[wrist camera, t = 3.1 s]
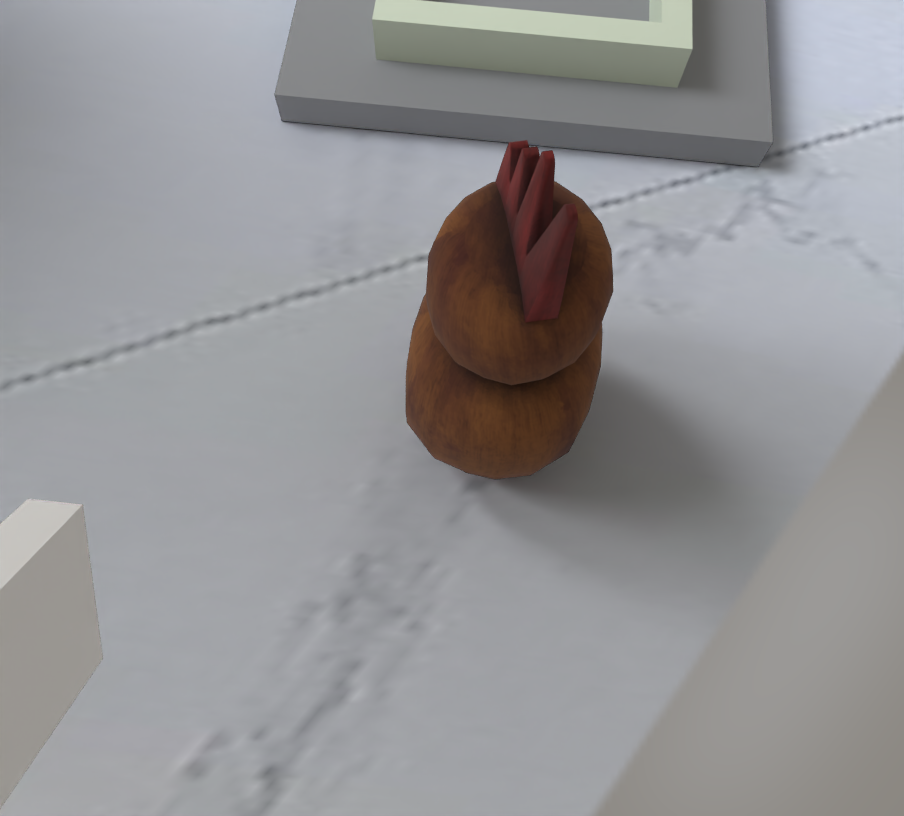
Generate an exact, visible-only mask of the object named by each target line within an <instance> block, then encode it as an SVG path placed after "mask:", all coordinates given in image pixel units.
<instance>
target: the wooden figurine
mask: <svg viewBox="0 0 904 816" xmlns="http://www.w3.org/2000/svg"><path fill="white" fill-rule="evenodd" d="M554 172H555V158H554V154H553V151H552V150H551V151H543V152H542V153H541V155H539V150H538V147H529V145H528V141H527V140H523V141H516V142H509V144H508V147H507V150H506V152H505V155H504V158H503V161H502V164H501V167H500V170H499V173H498V176H497V179H496V182H492V183H490V184H488V185H486V186H484V187H482V188H481V189H479V190H477V191H475V192H474V193H472V194H470V195H468V196H467V197H465V198H464V199H463V200H462V201H461V202H460V203H459V205H458V206H457V207H456V208H455V209H454V210H453V211H452V212H451V213H450V214H449V215H448V216H447V217H446V219H445V221H444V223H443V225H442V227H441V229H440V231H439V233H438V235H437V237H436V239H435V241H434V243H433V246H432V248H431V250H430V253H429V256H428V272H427V287H426V294H425V296H424V297H423V300H422V303H421V306H420V309H419V312H418V315H417V318H416V321H415V323H414V326H413V330H412V336H411V342H410V348H409V354H408V360H407V370H406V417H407V423H408V424H409V426H410V427H411V428H412V430H413V431H414V432H415V434H416V435H417V436H418V438H419V439H420V440H421V442H422V443H423V444H424V446H425V447H426V448H427V450H428V451H429V452H430V454H431V455H432V456H433V457H434V458H435V459H437V460H440V461H442V462H444V463H446V464H449V465H451V466H453V467H455V468H458V469H460V470H462V471H464V472H466V473H470V474H474V475H479V476H483V477H487V478H492V479H501V478H510V477H519V476H528V475H532V474H534V473H535V472H537V471H539V470H540V469H542V468H543V467H545V466H547V465H548V464H550V463H551V462H553V461H555V460H556V459H558V458H560V457H561V456H563V455H564V454H566V453H568V452H569V450H570V448H571V446H572V445H573V443H574V441H575V439H576V437H577V435H578V432H579V430H580V428H581V426H582V424H583V422H584V420H585V418H586V416H587V414H588V412H589V409H590V405H591V402H592V398H593V394H594V390H595V386H596V382H597V378H598V374H599V370H600V367H601V350H602V320H603V318H604V315H605V312H606V309H607V307H608V304H609V301H610V298H611V296H612V293H613V270H612V253H611V248H610V245H609V242H608V239H607V237H606V234H605V231H604V229H603V226H602V223H601V222H600V221H599V220H598V218H597V217H596V216H595V215H594V213H593V212H592V211H591V210H590V208H589V207H588V206H587V205H586V203H585V202H584V201H583V200H582V199H581V198H579V197H578V196H576V195H575V194H573V193H572V192H570V191H569V190H567V189H566V188H564V187H563V186H561V185H560V184H559V183H557V182H555V181H554Z"/></svg>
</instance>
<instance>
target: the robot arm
mask: <svg viewBox="0 0 904 816" xmlns="http://www.w3.org/2000/svg"><path fill="white" fill-rule="evenodd" d="M102 659H103V655H102V648H101V640H100V633H99V625H98V617H97V610H96V602H95V595H94V587H93V579H92V572H91V564H90V556H89V549H88V541H87V534H86V526H85V518H84V511H83V505H81V504H72V503H63V502H55V501H46V500H37V499H27V500H26V501H25V502H24V503H23V504H22V505H21V506H20V507H18V508H17V509H16V510H15V511H14V512H13V513H12V514H11V515H10V516H8V517H7V518H6V519H5V520H4V521H3V522H2V523H1V524H0V809H1V807H2V806H3V804H4V803H5V801H6V800H7V798H8V797H9V795H10V794H11V792H12V791H13V789H14V788H15V787H16V785H17V784H18V782H19V781H20V779H21V778H22V776H23V775H24V773H25V772H26V770H27V769H28V768H29V766H30V765H31V763H32V762H33V760H34V759H35V757H36V756H37V754H38V753H39V751H40V750H41V749H42V747H43V746H44V744H45V743H46V741H47V740H48V738H49V737H50V735H51V734H52V732H53V731H54V729H55V728H56V727H57V725H58V724H59V722H60V721H61V719H62V718H63V716H64V715H65V713H66V712H67V710H68V709H69V708H70V706H71V705H72V703H73V702H74V700H75V699H76V697H77V696H78V694H79V693H80V691H81V690H82V688H83V687H84V686H85V684H86V683H87V681H88V680H89V678H90V677H91V675H92V674H93V672H94V671H95V669H96V668H97V667H98V665H99V664H100V662H101V661H102Z"/></svg>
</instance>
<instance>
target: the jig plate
mask: <svg viewBox="0 0 904 816" xmlns="http://www.w3.org/2000/svg"><path fill="white" fill-rule="evenodd" d="M274 95H275V98H276V102H277V106H278V109H279V113H280V117H281V120H282V121H289V122H300V123H310V124H320V125H331V126H341V127H352V128H362V129H372V130H383V131H393V132H403V133H414V134H424V135H434V136H445V137H455V138H466V139H476V140H486V141H497V142H507V143H509V142H516V141H523V140H527V141H528V145H538V146H548V147H559V148H569V149H580V150H590V151H600V152H611V153H621V154H631V155H642V156H652V157H662V158H673V159H683V160H694V161H704V162H714V163H725V164H735V165H745V166H756V167H758V166H759V165H760V163H761V161H762V160H763V158H764V156H765V155H766V153H767V151H768V150H769V148H770V146H771V145H772V143H773V133H772V113H771V94H770V75H769V56H768V36H767V17H766V0H297V1H296V6H295V10H294V14H293V18H292V22H291V27H290V31H289V35H288V39H287V44H286V48H285V52H284V56H283V61H282V65H281V69H280V73H279V78H278V82H277V86H276V90H275V94H274Z"/></svg>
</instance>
